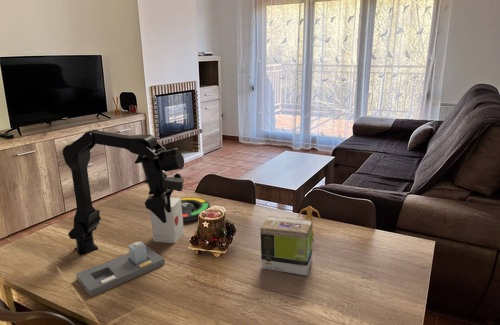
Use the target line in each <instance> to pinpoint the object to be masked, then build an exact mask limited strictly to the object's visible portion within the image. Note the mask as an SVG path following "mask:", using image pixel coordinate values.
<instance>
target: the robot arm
mask: <svg viewBox="0 0 500 325" xmlns="http://www.w3.org/2000/svg"><path fill="white" fill-rule="evenodd" d="M96 145H101V146H106V147H107V146H108V147H113V148H117V149H118V148H119V149H124V150H127V151H128V152H130V153H131V154H134V155H137V158H136V160H134V164H135V165H137V164H141V166H142V170H143V172H144V176H145V180H144V181H145V183H144V184H147V186H148V189H149V191H148V197H147V198H146V199H145V202H144V205H145V206H144V207H145V209H147V210H148V211H150V210H151V211H152V212H153V213H154V214H155V215H156V216H157V217H158V218H159V219H160V220H161V221H162V222H163V223H166V222H167V220H166V212H165V210H166V211H167V212H168V213H169V212H171V200H170V198H171V195H172V193H174V191H177V192H182V191H183V189H184V182H185V178H184V177H183V176H182V175H181V173H177V172H176V173H175V174H174V176H167V173H166V172H170V171H171V172H172V171H178V170H182V169H184V167H185V159H184V158H185V157H184V155H183V154H182V152H180V151H179V148H178V147H174V148H172V149H168V150H167V148H165V147H164V146H163V145H162V144H160V142H158V141H157V138H156V137H155V136H154V135H153V134H150V133H149V134H134V135H133V134H132V135H131V134H130V135H128V134H122V133H117V132H110V131H104V130H99V129H90V130H88V131H85V133H84V134H82V135H81V136H80V137H78V139H76V140H75V141H73V142H71V143H70V144H67V145H65V146H64V147H63V149H62V157H63V159H64V162H65V165H66V166H67V167H69V169H70V171H71V178H72V183H73V184H72V185H73V190H74V192H73V193H74V198H75V205H76V211H75V214H74V216H73V228H72V229H70V231H69V232H68V233H67V235H68V237H69V239H70V240H75V243H76V247H74V251H75V252H76V253H77V254H78V255H79V256H83V255H86V254H89V253H91V252H94V251H97V250H99V246H97V245H96V244H95V240H94V236H93V234H94V233H93V232H94V231H96V230H97V229H98V225H100V221H101V220H102V218H101V216H100V209H96V208H95V207H94V206H93V202H92V195H91V186H90V179H89V173H88V166H89V163H90V159H91V150H92V149H93V148H94V147H95V146H96Z"/></svg>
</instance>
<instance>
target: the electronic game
mask: <svg viewBox="0 0 500 325" xmlns="http://www.w3.org/2000/svg"><path fill="white" fill-rule="evenodd" d="M180 198H181V205H182V217H183V223H185V222H190V220H191V222H192V221H194V220H197V219H199V218H198V215H199V213H200V212H201V211H203V210H206V209H208V208H210V209H211V204H210V202H209V200H208V201H207V200H206V199H204V198H201V197H196V196H195V197H193V196H190V197H189V196H186V197H185V196H184V197H180ZM194 205H196V206H194ZM198 206H199V208H198V209H196V210H195V207H198Z"/></svg>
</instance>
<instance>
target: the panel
mask: <svg viewBox="0 0 500 325" xmlns="http://www.w3.org/2000/svg"><path fill="white" fill-rule="evenodd" d="M146 252H147V261H144V262H142V263H140V264H137V265H134V264H132V263H131V259H130V252H128V253H126V254H123V255H121V256H118V257H116V258H113V259H110V260H107V261H105V262H103V263H100V264H97V265H94V266H92V267H90V268H87V269H84V270H82V271H80V272H77V273H75V277H76V280H77V282H78V283H79V284H80V285H81V287H82V288H83V289H84V291H85V292H86V293H87V294H88V296H89V297H90V298H91V297H92V298H93V296H96V295H99V294H100V293H103V292H106V291H108V290H111V289H112V288H114V287H117V286H118V285H121V284H124V283H126V282H128V281H131V280H132V279H135V278H137V277H139V276H142V275H144V274H147V273H149V272H151V271H154V270H155V269H157V268H161V267H162V266H165V264H166V263H165V262H166V261H165V258H164V257H162V256H161V255H160V254H159V253H158V252H156V251H154V250H153V249H152V248H150V247H149V246H148V245H146Z"/></svg>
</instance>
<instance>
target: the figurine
mask: <svg viewBox="0 0 500 325" xmlns="http://www.w3.org/2000/svg"><path fill="white" fill-rule="evenodd" d="M303 211H306V213H307V214H306V215H305V220H312V222H313V221H314V220H313V219H314V218H313V217H314V216H313V214H312V213H313V211H314V212H316V213H317V217H318V220H319V221H321V215H320V214H319V211H318V210H317V209H315V208H314V207H312V206H311V205H308V206H307V207H305V208H302V209H301V210H300V212H299V214H298V216H297V219H300V215H301V214H302V212H303ZM314 235H315V231H314V229H312V238H313V237H314Z"/></svg>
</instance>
